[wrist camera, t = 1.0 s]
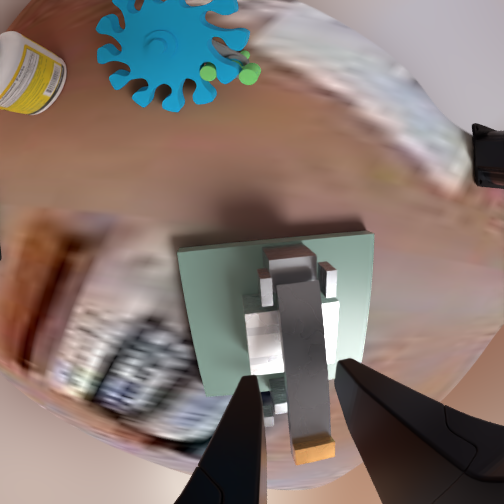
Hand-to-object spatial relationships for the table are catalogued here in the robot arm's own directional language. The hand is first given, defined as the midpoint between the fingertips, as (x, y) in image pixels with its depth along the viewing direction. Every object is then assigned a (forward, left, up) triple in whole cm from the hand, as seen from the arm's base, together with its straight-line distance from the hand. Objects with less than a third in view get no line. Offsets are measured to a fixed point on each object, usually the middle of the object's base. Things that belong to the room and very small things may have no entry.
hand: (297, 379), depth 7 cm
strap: (-2, +6, -6) cm, 9 cm away
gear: (+4, -14, -13) cm, 20 cm away
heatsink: (-2, +5, -12) cm, 13 cm away
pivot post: (-2, 0, -13) cm, 13 cm away
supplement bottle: (+16, -16, -13) cm, 26 cm away
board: (-2, +6, -13) cm, 14 cm away
